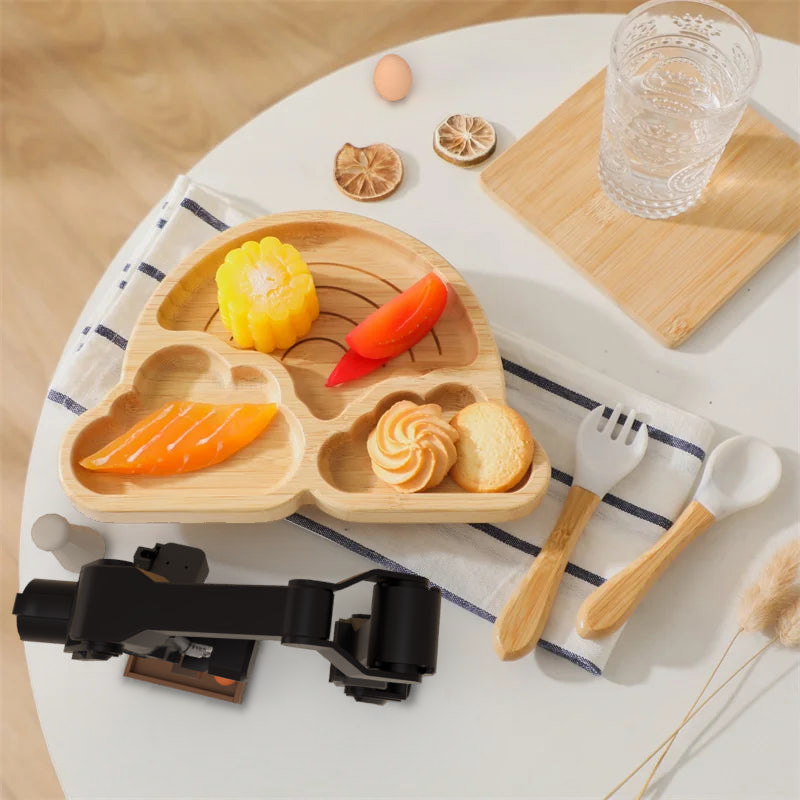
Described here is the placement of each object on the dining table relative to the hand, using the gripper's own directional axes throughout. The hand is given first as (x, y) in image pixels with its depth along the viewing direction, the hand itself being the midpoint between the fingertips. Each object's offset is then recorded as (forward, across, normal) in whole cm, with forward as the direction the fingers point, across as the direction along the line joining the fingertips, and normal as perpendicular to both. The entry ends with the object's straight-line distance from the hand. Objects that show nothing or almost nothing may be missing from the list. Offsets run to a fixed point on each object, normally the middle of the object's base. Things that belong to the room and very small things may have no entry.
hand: (190, 641), depth 101 cm
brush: (+4, 0, 0) cm, 4 cm away
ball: (+8, -3, +2) cm, 8 cm away
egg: (+10, -3, -85) cm, 86 cm away
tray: (+10, +2, 0) cm, 10 cm away
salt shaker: (+10, +19, -8) cm, 23 cm away
